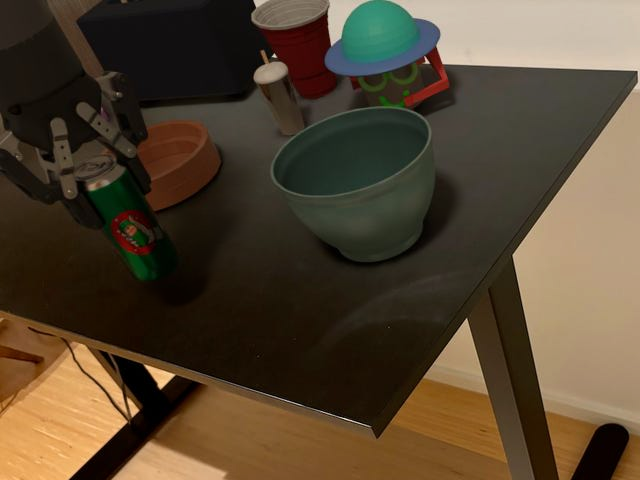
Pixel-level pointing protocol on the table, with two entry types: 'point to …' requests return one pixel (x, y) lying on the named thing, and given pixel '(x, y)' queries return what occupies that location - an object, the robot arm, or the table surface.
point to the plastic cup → (299, 41)
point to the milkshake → (279, 95)
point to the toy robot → (387, 54)
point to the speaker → (177, 45)
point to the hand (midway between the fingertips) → (119, 208)
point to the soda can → (127, 218)
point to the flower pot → (360, 180)
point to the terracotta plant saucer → (177, 161)
